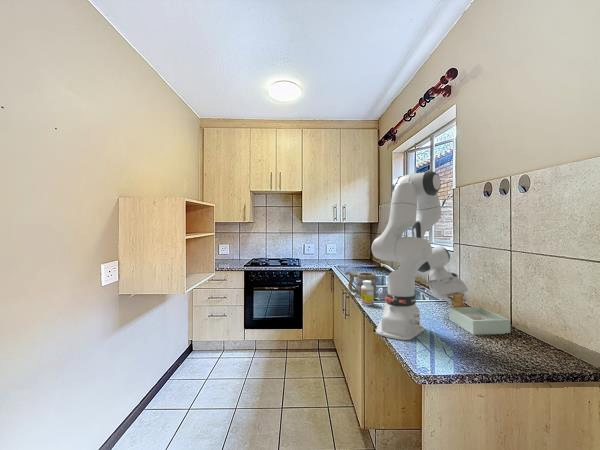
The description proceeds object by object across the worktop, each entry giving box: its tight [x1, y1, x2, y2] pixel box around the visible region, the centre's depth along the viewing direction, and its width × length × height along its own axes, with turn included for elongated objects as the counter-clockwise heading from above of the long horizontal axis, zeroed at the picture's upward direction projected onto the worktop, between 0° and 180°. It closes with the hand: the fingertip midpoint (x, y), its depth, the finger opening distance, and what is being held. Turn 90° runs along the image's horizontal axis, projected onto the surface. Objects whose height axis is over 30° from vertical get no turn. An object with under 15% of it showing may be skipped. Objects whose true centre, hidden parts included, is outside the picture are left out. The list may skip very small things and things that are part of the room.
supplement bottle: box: [360, 280, 375, 307], centre depth 162 cm, size 7×7×13 cm
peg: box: [452, 293, 464, 308], centre depth 140 cm, size 4×4×10 cm
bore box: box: [448, 306, 511, 336], centre depth 125 cm, size 18×15×6 cm
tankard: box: [344, 270, 379, 300], centre depth 180 cm, size 20×13×15 cm, turn 57°
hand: (458, 302), depth 140 cm, fingers open, 8 cm apart
